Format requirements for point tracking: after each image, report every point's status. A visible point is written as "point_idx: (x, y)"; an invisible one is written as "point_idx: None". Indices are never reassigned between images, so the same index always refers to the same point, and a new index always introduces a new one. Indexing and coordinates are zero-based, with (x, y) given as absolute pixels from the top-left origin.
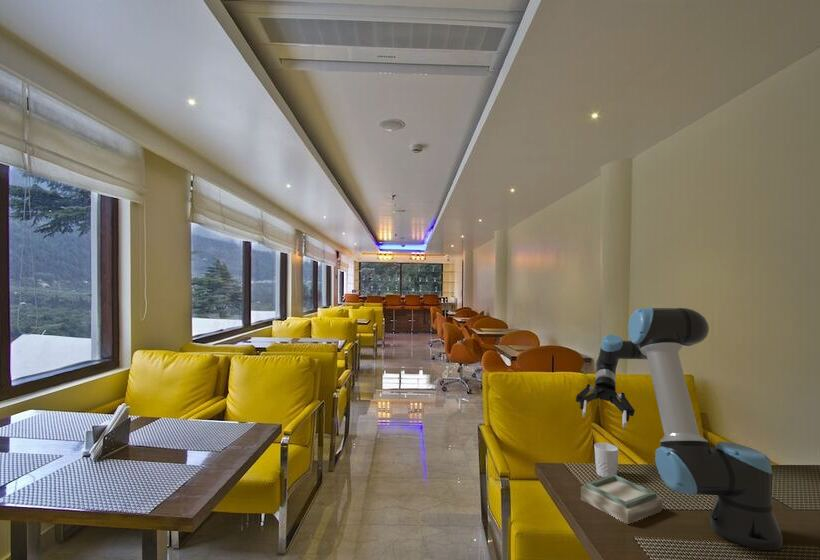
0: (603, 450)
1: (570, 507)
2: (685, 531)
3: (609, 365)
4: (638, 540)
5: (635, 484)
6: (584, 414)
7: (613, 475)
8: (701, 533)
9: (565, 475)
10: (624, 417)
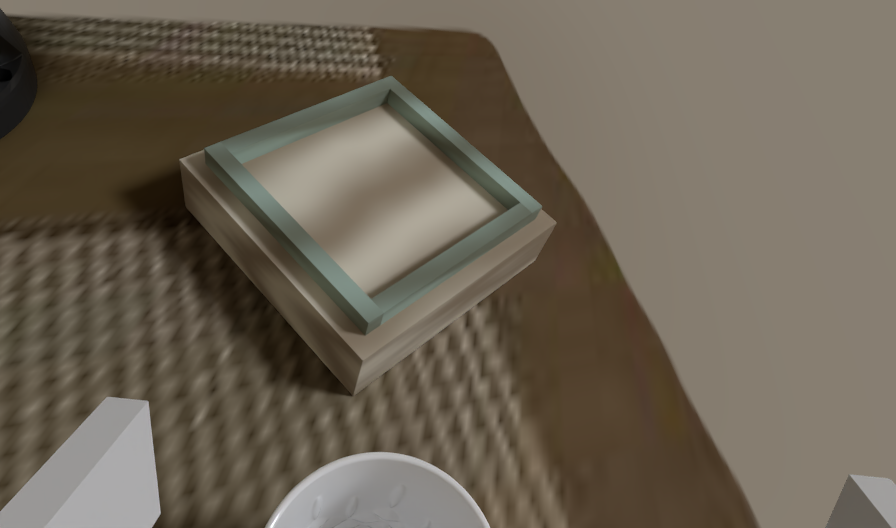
0: (427, 463)
1: (571, 202)
2: (172, 99)
3: None
4: (371, 64)
5: (279, 219)
6: (837, 517)
7: (378, 307)
8: (112, 90)
9: (626, 516)
10: (43, 513)
